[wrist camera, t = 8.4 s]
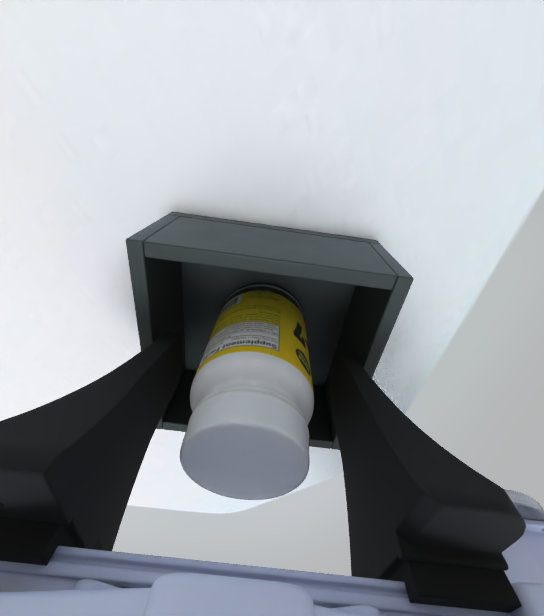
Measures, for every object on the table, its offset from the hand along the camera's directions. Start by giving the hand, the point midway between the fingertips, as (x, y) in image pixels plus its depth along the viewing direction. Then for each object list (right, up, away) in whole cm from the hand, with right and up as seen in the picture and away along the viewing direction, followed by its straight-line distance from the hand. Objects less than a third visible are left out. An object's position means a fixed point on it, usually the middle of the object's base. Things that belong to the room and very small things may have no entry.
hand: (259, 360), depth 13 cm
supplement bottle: (0, +2, +3) cm, 4 cm away
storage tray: (0, +2, +3) cm, 4 cm away
